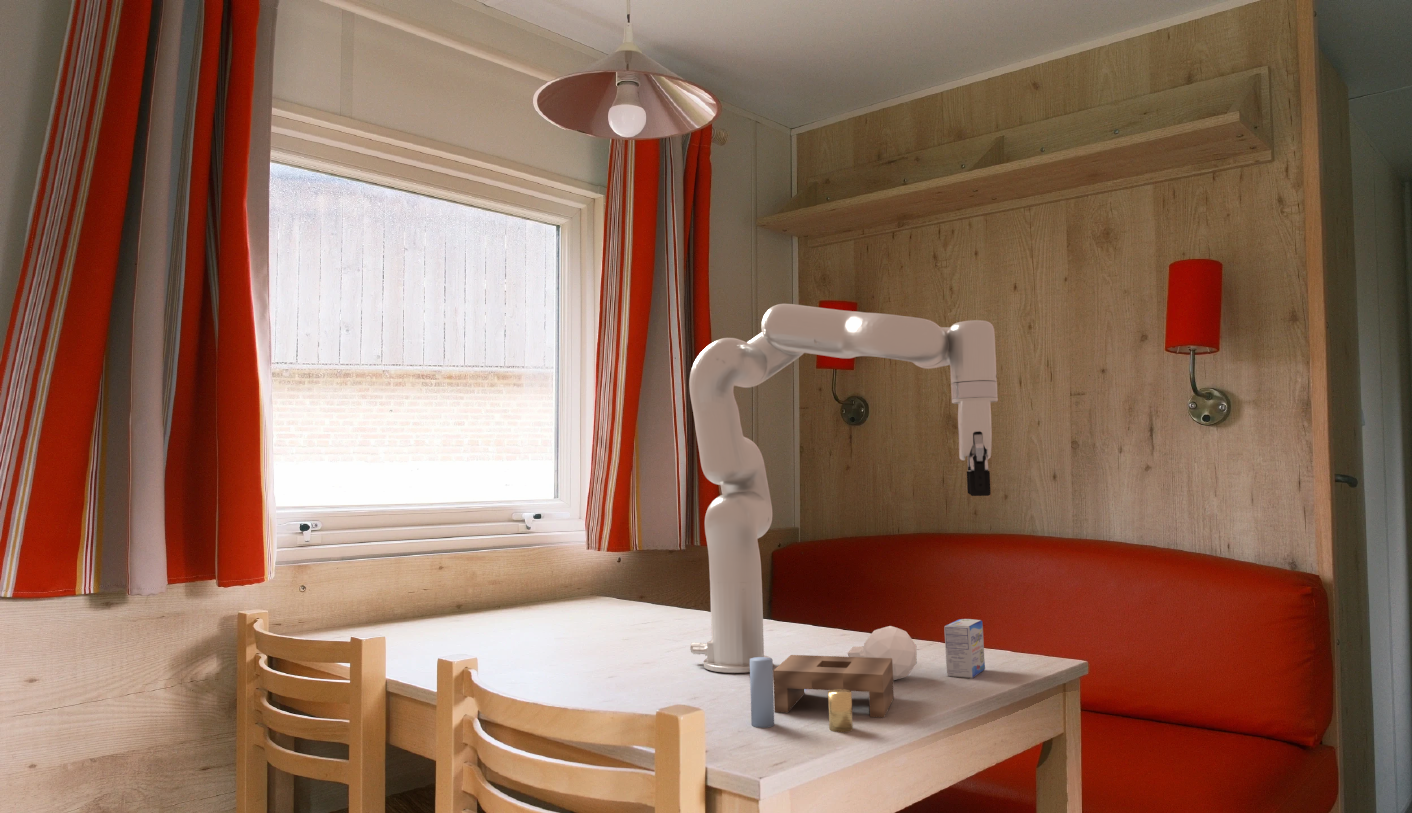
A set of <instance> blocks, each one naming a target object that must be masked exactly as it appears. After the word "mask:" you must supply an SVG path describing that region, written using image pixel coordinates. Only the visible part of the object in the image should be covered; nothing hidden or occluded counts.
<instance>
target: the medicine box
mask: <svg viewBox="0 0 1412 813" xmlns="http://www.w3.org/2000/svg"><path fill="white" fill-rule="evenodd" d="M983 624H984V623H983V620H982V619H972V618H961V619H957V620H955V621H952V622H950V623H949V624H946V625H944V642H945V643H944V644H945V646H944V648H945V661H946V662H945V663H946V664H945V665H946V666H945V667H946V676H947V677H952V678H953V677H954V678H963V679H974V678H975V677H976V676H978V675H979V674H980V673H982V672H983V671H984V670H985V669H986V664H985V663H986V662H985V660H986V659H985V646H984V645H985V644H984V643H985V642H984V626H983Z"/></svg>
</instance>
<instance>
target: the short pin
mask: <svg viewBox="0 0 1412 813" xmlns="http://www.w3.org/2000/svg"><path fill="white" fill-rule="evenodd" d="M852 692H853V691H850V690H845V689H834V690H827V696H828V697H827V703H828V706H827V708H828V728H829V731H830V732H834V733H849V732H852V731H853V729H854V727H853V726H854V725H853V720H854V719H853V698H852V697H853V696H852V695H853V694H852Z"/></svg>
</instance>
